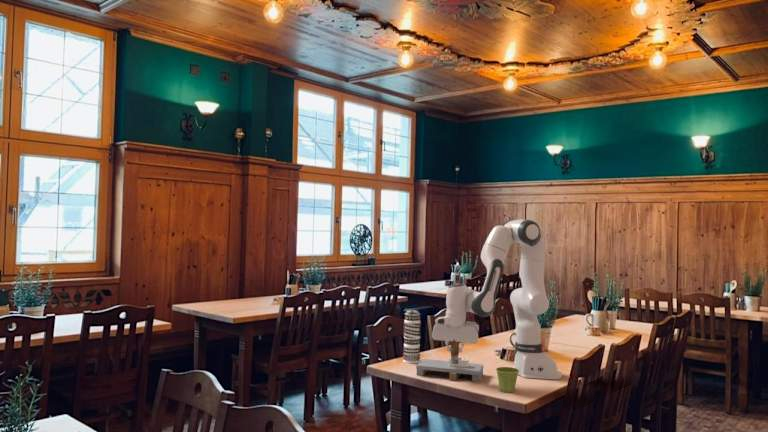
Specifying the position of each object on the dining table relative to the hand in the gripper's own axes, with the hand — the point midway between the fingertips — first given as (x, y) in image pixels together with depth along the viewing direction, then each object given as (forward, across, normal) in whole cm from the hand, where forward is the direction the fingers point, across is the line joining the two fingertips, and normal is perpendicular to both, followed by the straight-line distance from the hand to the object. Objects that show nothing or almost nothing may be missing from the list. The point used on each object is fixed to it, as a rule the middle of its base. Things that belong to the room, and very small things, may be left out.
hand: (454, 351), depth 253 cm
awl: (+5, 0, 0) cm, 5 cm away
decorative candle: (+12, +26, -24) cm, 37 cm away
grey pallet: (+12, +3, -5) cm, 13 cm away
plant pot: (+12, -24, +10) cm, 29 cm away
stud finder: (+7, -1, -5) cm, 9 cm away
